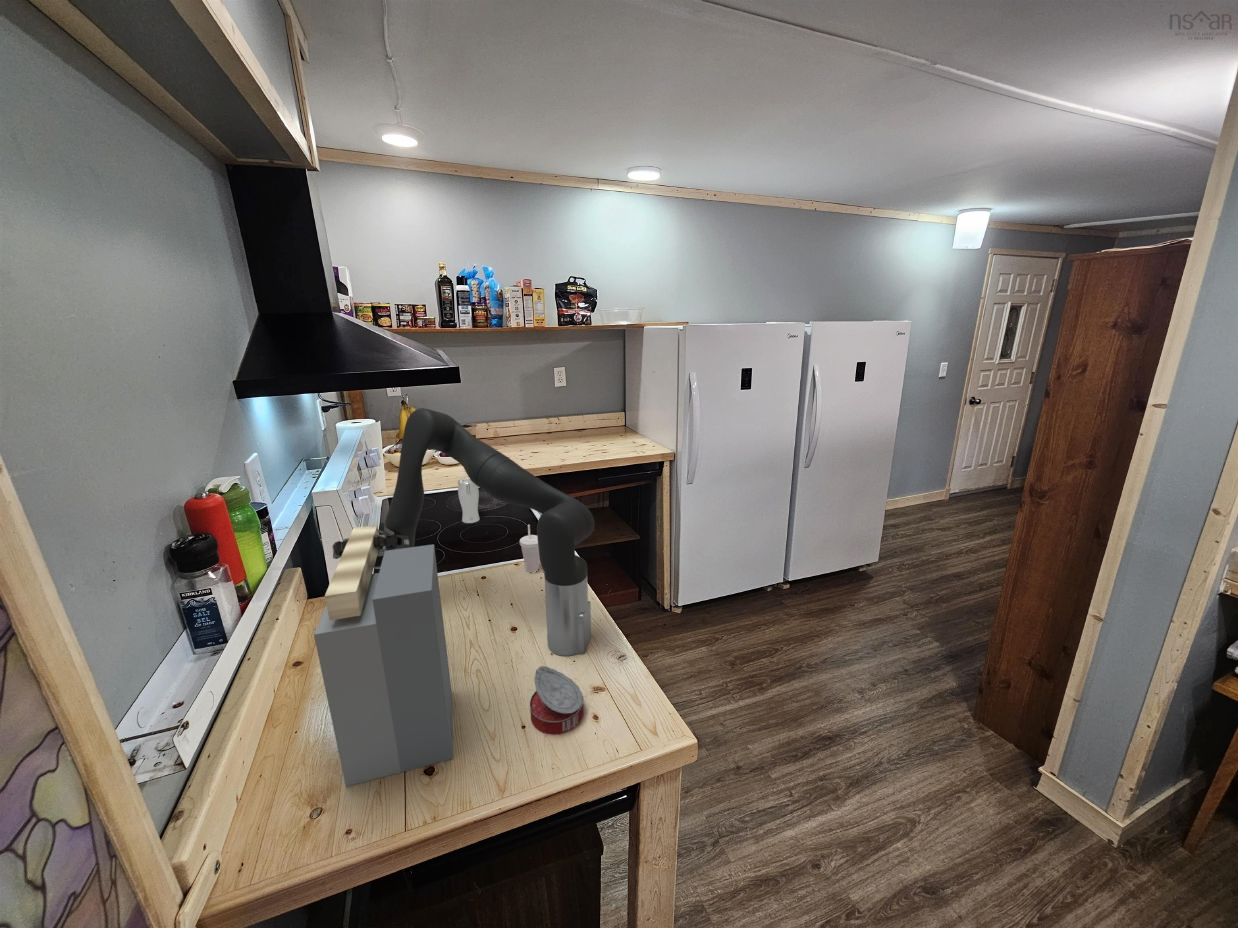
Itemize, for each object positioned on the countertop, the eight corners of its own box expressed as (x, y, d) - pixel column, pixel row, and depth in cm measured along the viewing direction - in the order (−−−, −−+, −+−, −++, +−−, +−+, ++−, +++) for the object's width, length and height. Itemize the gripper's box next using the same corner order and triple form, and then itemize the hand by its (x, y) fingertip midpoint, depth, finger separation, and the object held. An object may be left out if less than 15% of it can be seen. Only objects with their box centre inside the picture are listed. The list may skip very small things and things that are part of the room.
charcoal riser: (361, 712, 92) (332, 557, 82) (451, 692, 97) (434, 544, 87) (345, 786, 77) (308, 609, 68) (452, 758, 82) (431, 590, 73)
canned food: (553, 713, 98) (565, 661, 99) (589, 735, 91) (602, 680, 93) (508, 720, 89) (523, 664, 91) (545, 745, 83) (560, 684, 84)
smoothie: (533, 562, 147) (531, 519, 143) (548, 569, 143) (546, 524, 139) (516, 570, 143) (513, 526, 139) (531, 577, 139) (528, 532, 135)
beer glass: (460, 524, 174) (456, 484, 169) (461, 517, 180) (457, 478, 176) (481, 522, 175) (477, 482, 171) (480, 515, 182) (477, 476, 178)
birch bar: (356, 547, 92) (353, 527, 91) (380, 544, 93) (377, 524, 92) (329, 620, 70) (324, 596, 69) (360, 615, 71) (356, 591, 70)
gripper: (339, 536, 101) (314, 526, 85) (414, 527, 105) (403, 516, 89) (341, 573, 99) (315, 570, 83) (416, 562, 104) (406, 557, 88)
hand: (361, 542), depth 86 cm, fingers closed on birch bar, 4 cm apart
